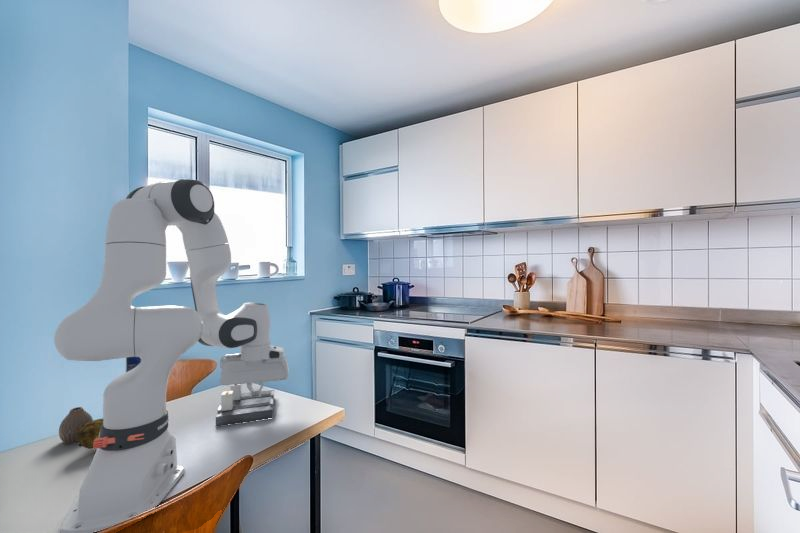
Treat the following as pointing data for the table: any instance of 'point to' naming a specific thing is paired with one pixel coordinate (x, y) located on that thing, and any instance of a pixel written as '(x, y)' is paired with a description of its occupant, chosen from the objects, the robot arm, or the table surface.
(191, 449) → the table surface
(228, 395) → the fader
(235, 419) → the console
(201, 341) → the robot arm
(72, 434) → the vase
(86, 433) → the potato
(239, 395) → the fader
